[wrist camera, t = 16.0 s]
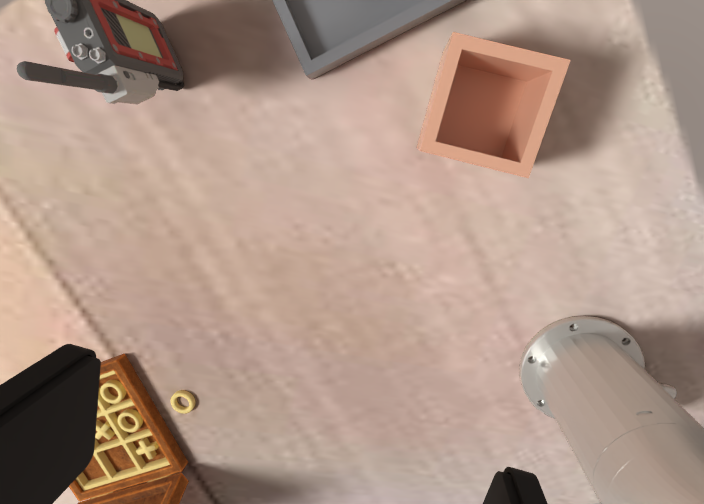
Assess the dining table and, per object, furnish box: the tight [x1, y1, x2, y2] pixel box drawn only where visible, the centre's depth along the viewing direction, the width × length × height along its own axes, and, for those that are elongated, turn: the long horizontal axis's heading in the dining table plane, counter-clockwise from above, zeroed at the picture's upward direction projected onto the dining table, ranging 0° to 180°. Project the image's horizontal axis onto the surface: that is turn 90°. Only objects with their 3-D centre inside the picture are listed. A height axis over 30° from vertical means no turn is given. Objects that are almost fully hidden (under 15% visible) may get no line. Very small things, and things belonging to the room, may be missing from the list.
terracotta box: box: [417, 32, 571, 178], centre depth 37 cm, size 9×9×8 cm
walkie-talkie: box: [17, 0, 184, 104], centre depth 34 cm, size 9×4×20 cm, turn 21°
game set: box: [69, 354, 195, 504], centre depth 48 cm, size 28×22×19 cm
